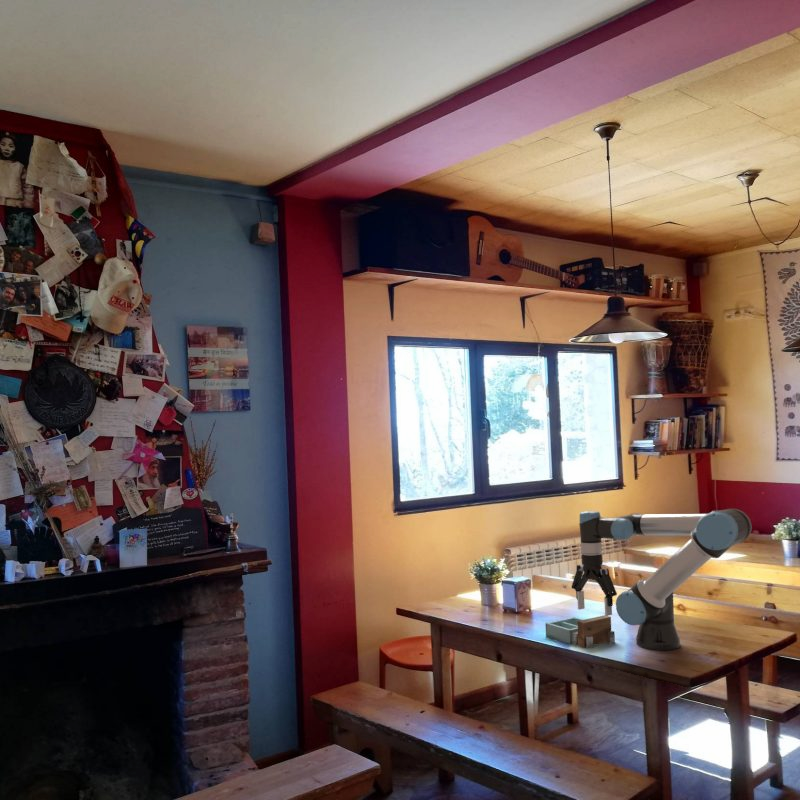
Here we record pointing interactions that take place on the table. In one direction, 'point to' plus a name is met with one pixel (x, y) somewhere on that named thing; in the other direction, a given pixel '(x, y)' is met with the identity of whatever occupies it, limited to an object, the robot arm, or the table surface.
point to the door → (594, 630)
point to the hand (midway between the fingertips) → (594, 612)
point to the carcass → (562, 629)
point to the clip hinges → (590, 639)
